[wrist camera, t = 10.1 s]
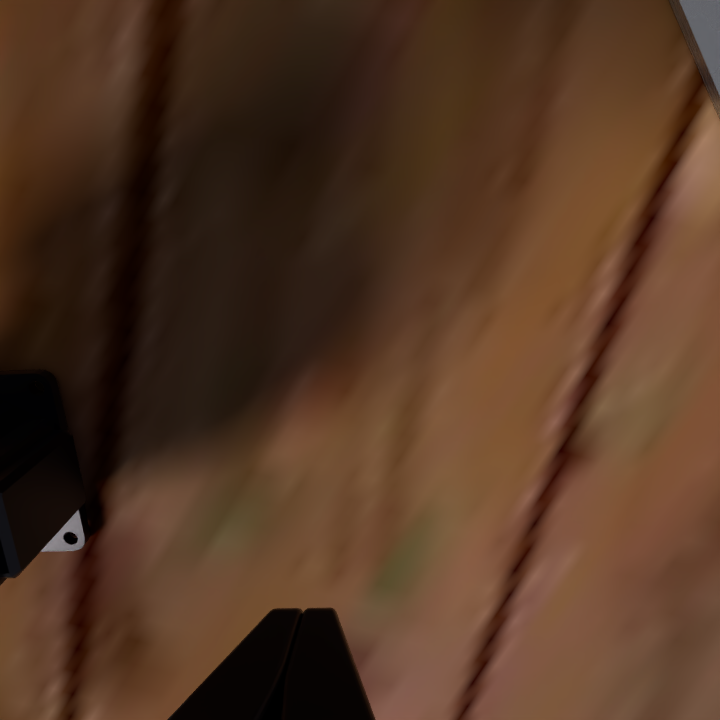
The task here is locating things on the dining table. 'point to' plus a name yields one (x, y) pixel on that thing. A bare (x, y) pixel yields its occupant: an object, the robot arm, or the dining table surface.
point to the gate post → (702, 39)
